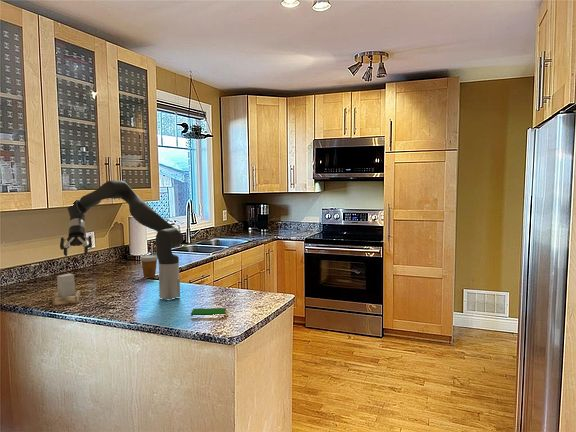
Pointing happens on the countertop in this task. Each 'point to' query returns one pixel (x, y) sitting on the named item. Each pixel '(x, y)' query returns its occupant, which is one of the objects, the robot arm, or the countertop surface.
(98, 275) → the countertop surface
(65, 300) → the u-shaped wooden frame
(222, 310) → the dish sponge
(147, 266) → the disposable coffee cup
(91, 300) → the countertop surface
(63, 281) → the skincare box
